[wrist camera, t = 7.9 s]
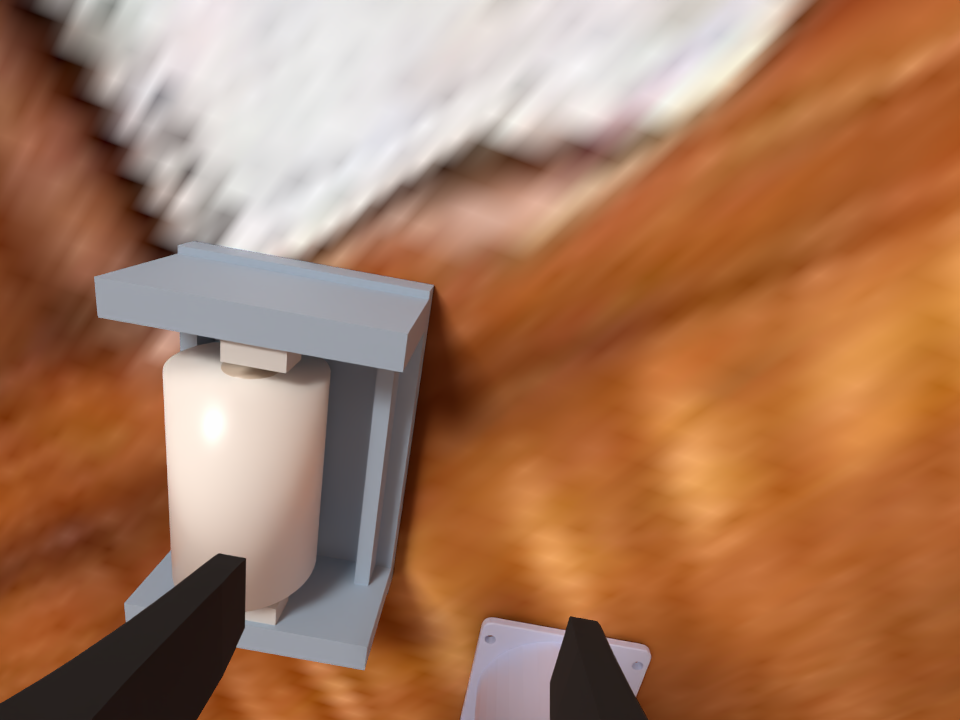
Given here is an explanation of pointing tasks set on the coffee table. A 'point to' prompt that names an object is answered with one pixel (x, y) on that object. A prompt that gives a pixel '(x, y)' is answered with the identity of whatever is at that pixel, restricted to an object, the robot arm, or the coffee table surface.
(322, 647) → the holder
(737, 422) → the coffee table surface
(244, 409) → the roll
